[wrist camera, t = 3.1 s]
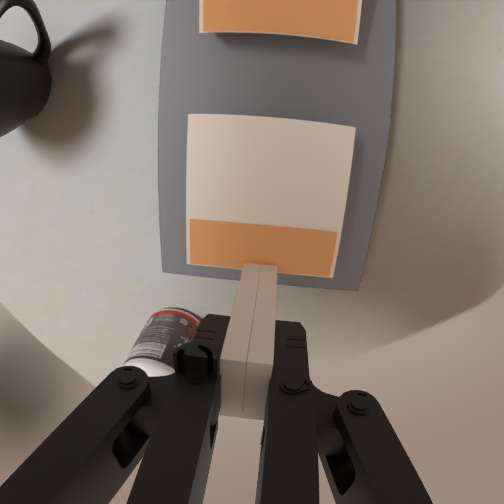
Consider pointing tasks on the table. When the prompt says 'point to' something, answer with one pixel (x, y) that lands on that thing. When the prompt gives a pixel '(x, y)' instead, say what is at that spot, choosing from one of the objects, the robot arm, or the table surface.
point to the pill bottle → (162, 341)
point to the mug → (23, 73)
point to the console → (277, 115)
